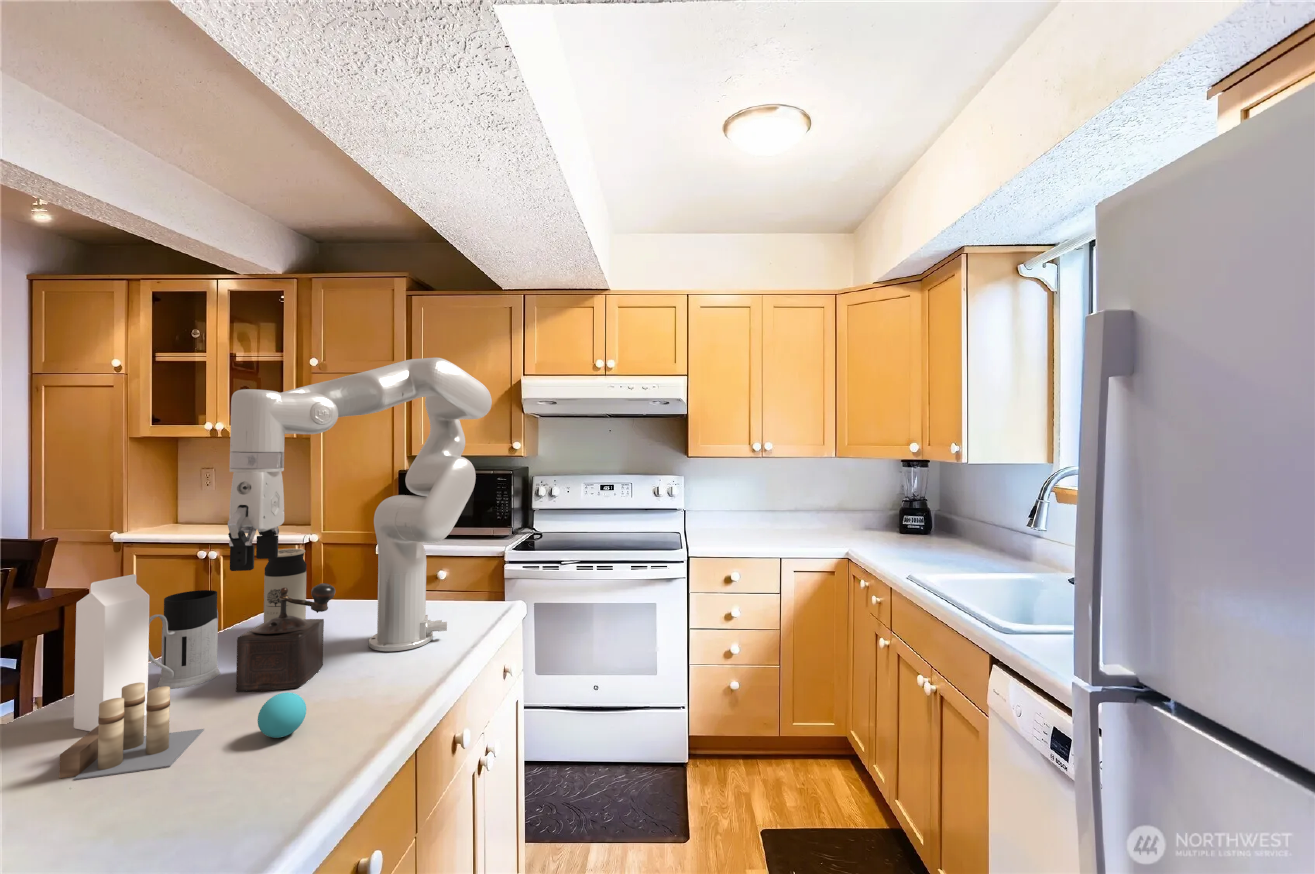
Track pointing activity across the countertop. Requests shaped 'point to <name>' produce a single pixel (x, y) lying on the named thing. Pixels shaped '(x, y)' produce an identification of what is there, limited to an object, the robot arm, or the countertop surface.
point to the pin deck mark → (145, 756)
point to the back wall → (79, 755)
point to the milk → (109, 645)
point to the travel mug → (285, 583)
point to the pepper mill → (283, 647)
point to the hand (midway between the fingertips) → (255, 563)
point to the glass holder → (188, 639)
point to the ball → (281, 715)
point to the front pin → (157, 720)
